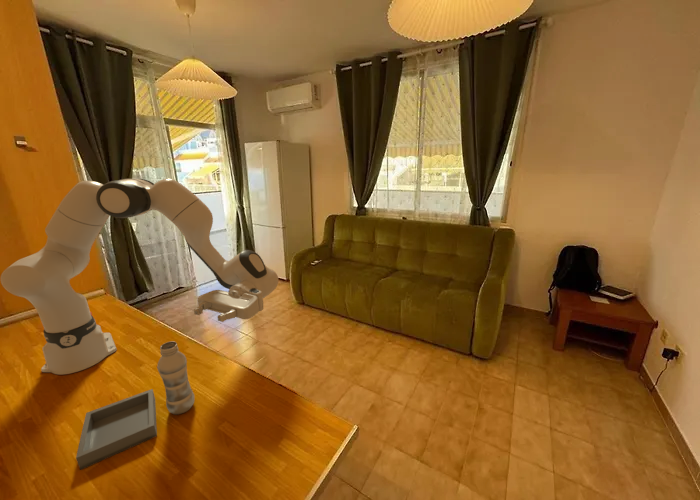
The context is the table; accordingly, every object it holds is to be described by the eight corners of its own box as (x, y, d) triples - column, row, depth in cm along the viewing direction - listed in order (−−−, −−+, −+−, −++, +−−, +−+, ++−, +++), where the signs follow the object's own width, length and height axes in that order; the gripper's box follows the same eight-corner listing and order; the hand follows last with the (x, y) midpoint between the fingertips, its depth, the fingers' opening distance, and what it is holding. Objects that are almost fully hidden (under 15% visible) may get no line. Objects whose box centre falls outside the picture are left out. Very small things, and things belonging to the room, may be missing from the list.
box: (89, 423, 73) (86, 412, 72) (155, 398, 80) (152, 388, 79) (80, 469, 62) (75, 458, 61) (156, 436, 69) (154, 425, 68)
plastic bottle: (184, 420, 74) (169, 355, 68) (162, 415, 75) (146, 351, 69) (201, 400, 80) (189, 339, 74) (180, 396, 81) (167, 336, 75)
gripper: (217, 282, 97) (180, 299, 85) (265, 292, 89) (232, 313, 77) (219, 298, 99) (183, 318, 86) (267, 310, 91) (235, 333, 79)
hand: (207, 315), depth 82 cm, fingers open, 8 cm apart
